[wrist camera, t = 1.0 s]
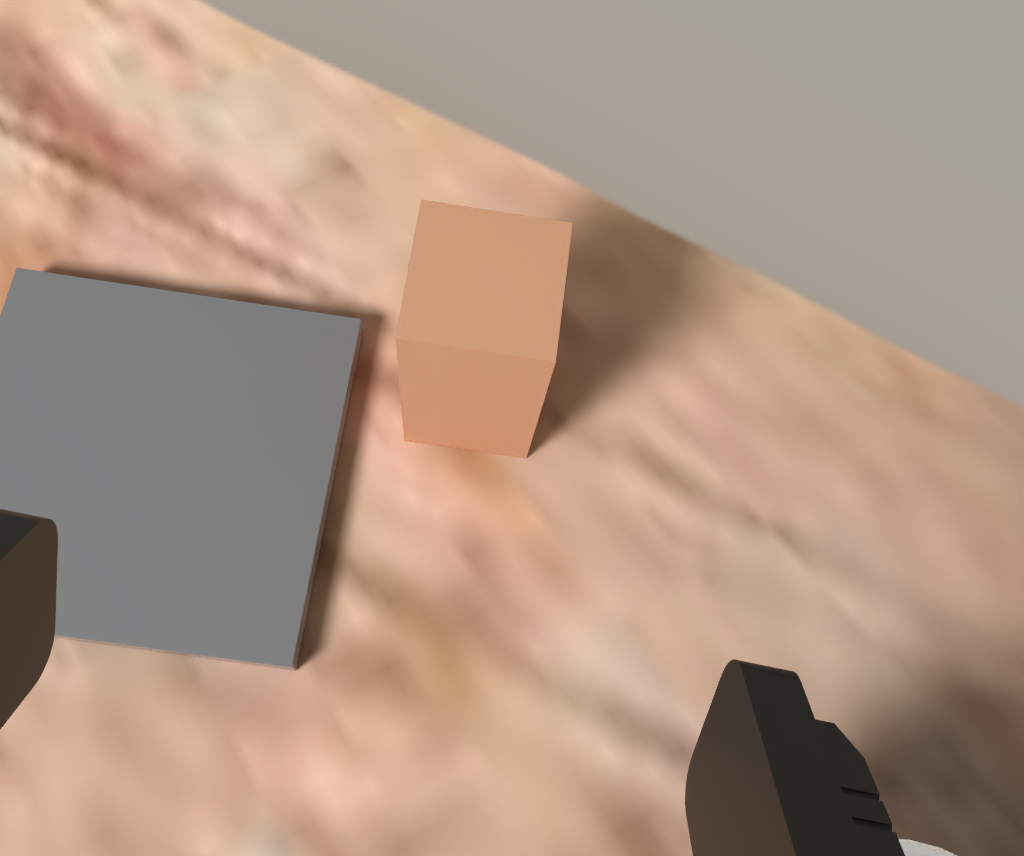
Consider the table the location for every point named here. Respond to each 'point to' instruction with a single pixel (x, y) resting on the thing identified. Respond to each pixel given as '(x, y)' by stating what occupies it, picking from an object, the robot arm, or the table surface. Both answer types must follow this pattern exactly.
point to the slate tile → (174, 459)
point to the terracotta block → (480, 326)
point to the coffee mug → (922, 849)
